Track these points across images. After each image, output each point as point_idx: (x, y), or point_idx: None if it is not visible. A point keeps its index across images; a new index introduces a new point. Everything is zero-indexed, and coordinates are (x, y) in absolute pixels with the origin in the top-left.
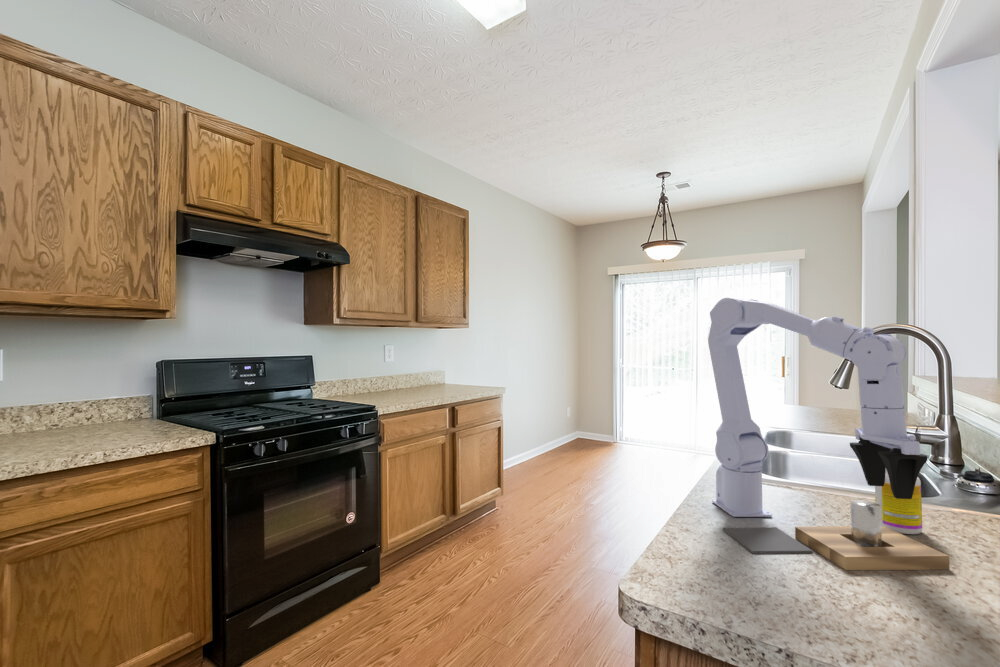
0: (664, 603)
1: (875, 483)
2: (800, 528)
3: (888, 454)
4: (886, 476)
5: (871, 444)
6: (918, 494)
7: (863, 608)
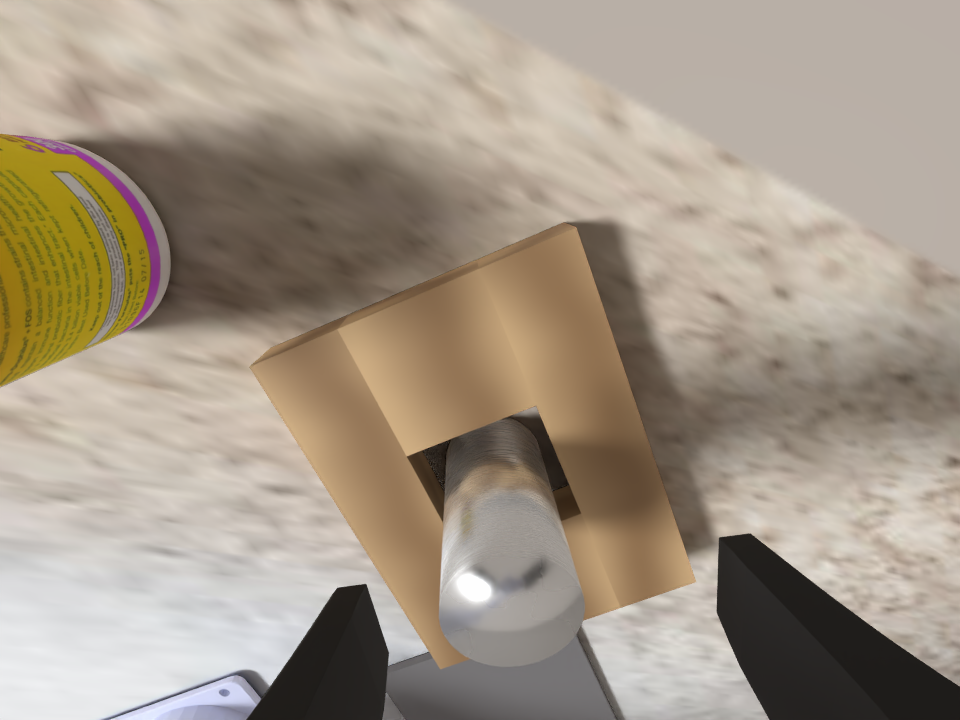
0: None
1: (376, 643)
2: (452, 657)
3: None
4: None
5: None
6: None
7: (909, 558)
